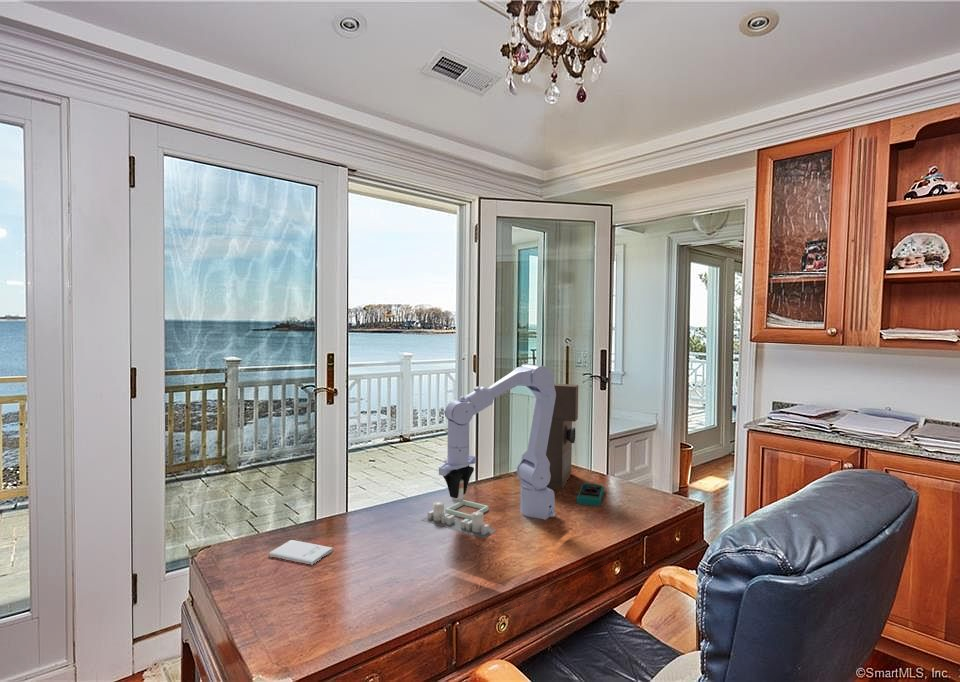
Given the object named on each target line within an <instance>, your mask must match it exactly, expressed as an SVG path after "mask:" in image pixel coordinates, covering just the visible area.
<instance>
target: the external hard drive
mask: <svg viewBox="0 0 960 682" xmlns="http://www.w3.org/2000/svg"><path fill="white" fill-rule="evenodd" d="M332 552H334V547H332V546H331V547H330V546H325V545H319V544H316V543H311V542H305V541H299V540H294V539H290V540H288V541H286V542H285V543H282V545H279V546H278V547H276V548H275V549H273V550H271V551H270V552H268V556H269V555H270V556H274V557H278V558H282V559H288V560H293V561H298V562H303V563H307V564H311V565H312V566H314V565H315V564H317V563H318V562H320V561H321V560H322V559H323V558H325V557H326V555H327V556H328V555H330V554H331V553H332ZM324 556H325V557H324ZM322 557H323V558H322ZM321 558H322V559H321ZM319 560H320V561H319ZM317 561H318V562H317ZM316 562H317V563H316ZM314 563H315V564H314ZM313 564H314V565H313ZM311 565H310V566H311Z"/></svg>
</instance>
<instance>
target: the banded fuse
mask: <svg viewBox="0 0 960 682" xmlns="http://www.w3.org/2000/svg"><path fill="white" fill-rule="evenodd" d="M463 487H464V480H462V479H461V480H460V484H459V494H458V498H452V497H451V501H452V503H455V504H456V503H460V502H463V500H464V494H463Z"/></svg>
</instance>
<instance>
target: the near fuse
mask: <svg viewBox="0 0 960 682" xmlns="http://www.w3.org/2000/svg"><path fill="white" fill-rule="evenodd" d="M471 514H472V532H474V533H481V527H482V526H484V513H482V512H476V511H473V512H472V513H471Z"/></svg>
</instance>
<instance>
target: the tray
mask: <svg viewBox="0 0 960 682" xmlns="http://www.w3.org/2000/svg"><path fill="white" fill-rule="evenodd" d="M462 506H467V507H471V508H475V509H478V510H477V511H475V512H482V513H483V514H484V513H486V512H488V511H489V505H485V504H482V503H478V502H475V501H469V500H465V499H463V502H460V503H456V502H455V503H454V504H452V505H451V506H448V507H446V508H444V514H450V515H454V516H455V517H458V518H462V519H469V521H470V520H472V513H471V514H469V513H465V512H463V511H459V510H458V511H457V510H456V509H458V508H460V507H462Z"/></svg>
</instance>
